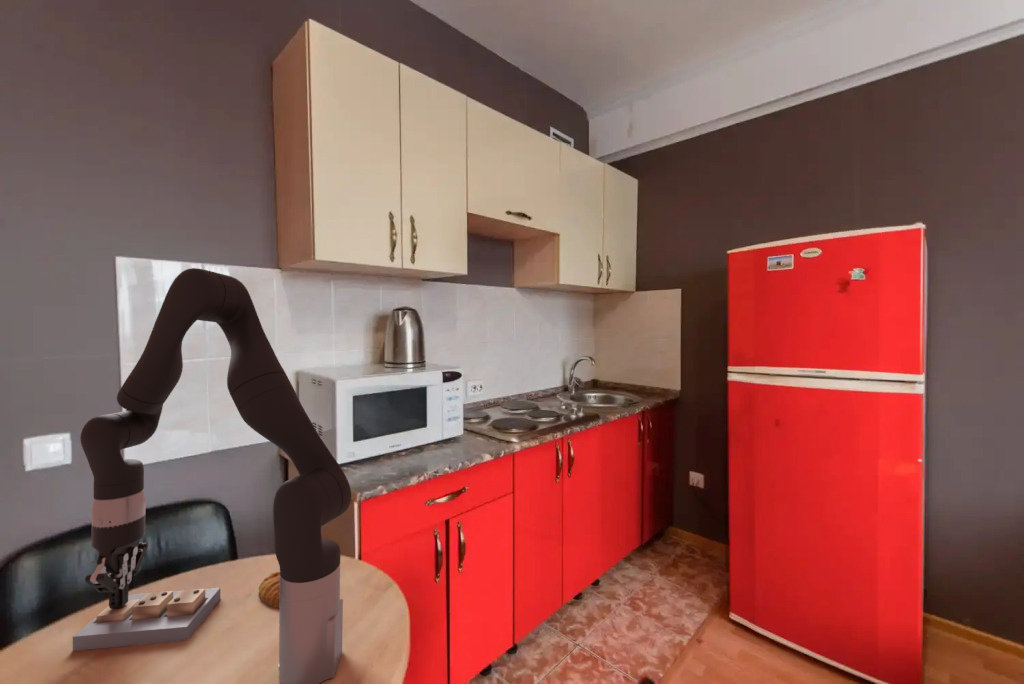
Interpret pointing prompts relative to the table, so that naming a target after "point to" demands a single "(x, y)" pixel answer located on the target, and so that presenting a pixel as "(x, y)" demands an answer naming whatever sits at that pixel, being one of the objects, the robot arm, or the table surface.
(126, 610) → the button
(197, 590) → the button
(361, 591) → the table surface
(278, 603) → the pastry
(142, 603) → the button
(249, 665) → the table surface
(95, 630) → the panel
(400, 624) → the table surface
